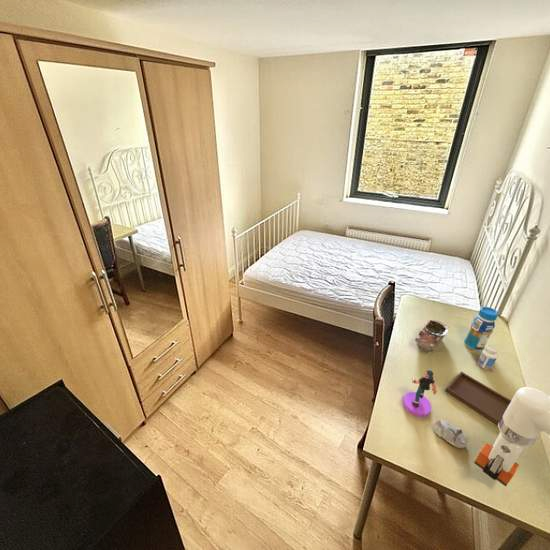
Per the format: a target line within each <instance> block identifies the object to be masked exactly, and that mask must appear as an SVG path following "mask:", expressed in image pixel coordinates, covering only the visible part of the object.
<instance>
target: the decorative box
mask: <svg viewBox="0 0 550 550" xmlns="http://www.w3.org/2000/svg"><path fill="white" fill-rule="evenodd" d="M449 328H450V326H448V325H447V324H445V323H444V322H442V321H440V320H436V319H433V318H431V319H427V320H426V321H425V323H424V325H423V328H422V329H421V330H419V333H418V334H417V335H416V337H415V339H414V341H415V342H416V346H417V347H418V348H420V350H421V351H426V352H431V351H435V350H436V348H437V347H438V345H439V344H440V343H441V342H442V340H444V338H445V337H446V335H447V333H448V331H449Z"/></svg>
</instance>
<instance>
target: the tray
mask: <svg viewBox="0 0 550 550" xmlns="http://www.w3.org/2000/svg"><path fill="white" fill-rule="evenodd" d="M444 392H445V393H447V394H448V395H450V396H451V397H453V398H454V399H456V400H458V401H459V402H460V403H462V404H463V405H465V406H467V407H468V408H470V409H471V410H473V411H475V412H476V413H477V414H479V415H480V416H481V417H483V418H485V419H486V420H488V421H490V422H491V423H493V424H494V425H496V426H497V427H498V423H499V421H500V420H501V418H502V416H503V414H504V413H505V411H506V409H507V407H508V406H509V404H510V402H511V400H512V399H509V398H507V397H506V396H504V395H503V394H501V393H499V392H497V391H496V390H494V389H492V388H491V387H488V386H487V385H485V384H484V383H482V382H480V381H479V380H477V379H475V378H474V377H472V376H470V375H469V374H466V373H465V372H463V371H460V372H459V373H458V374H457V376H456V377H455V378H454V379H453V380H452V381H451V382H450V383H449V384H448V385H447V386H446V388H445V390H444Z"/></svg>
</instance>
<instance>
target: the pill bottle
mask: <svg viewBox="0 0 550 550" xmlns="http://www.w3.org/2000/svg"><path fill="white" fill-rule="evenodd" d="M498 352H499V349H498V348H497V347H496V346H494V345H491V344H488V345H486V346H485V348H484V349H483V350H481V353H480V355H479V357H478V359H477V362H476V363H477V365H478V367H480V368H481V369H483V370H487V371H488V370H491V369H492V368H493V367H494V365H495V363H496V361H497V359H498Z"/></svg>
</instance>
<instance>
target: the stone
mask: <svg viewBox="0 0 550 550" xmlns="http://www.w3.org/2000/svg"><path fill="white" fill-rule="evenodd" d="M433 430H434V432H435V434H437V436H438V437H439V438H442V439H444V440H445V441H446V442H447V443H449V444H450V445H452V446H454V447H455V448H457V449H465V448H466V447H467V446H466V445H467V442H468V438H467V435H466V434H465V433H464V432H463V429H460V428H459V427H457V426H455V425H453V424H451V422H448V421H446V420H445V419H438V420H437V422H436V423H435V426H434V427H433Z"/></svg>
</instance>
